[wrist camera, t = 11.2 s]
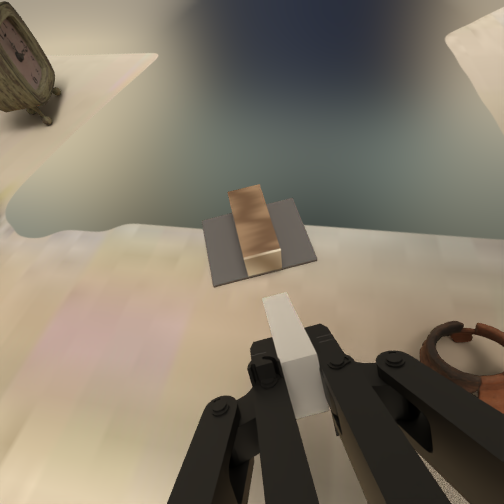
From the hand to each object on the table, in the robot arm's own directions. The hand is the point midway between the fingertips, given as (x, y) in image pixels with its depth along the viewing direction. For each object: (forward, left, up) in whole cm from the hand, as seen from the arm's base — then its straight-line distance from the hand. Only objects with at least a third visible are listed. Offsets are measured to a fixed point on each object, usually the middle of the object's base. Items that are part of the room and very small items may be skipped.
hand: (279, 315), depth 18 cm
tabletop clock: (+36, -64, -18) cm, 75 cm away
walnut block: (-1, -12, -15) cm, 19 cm away
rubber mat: (-1, -17, -18) cm, 25 cm away
